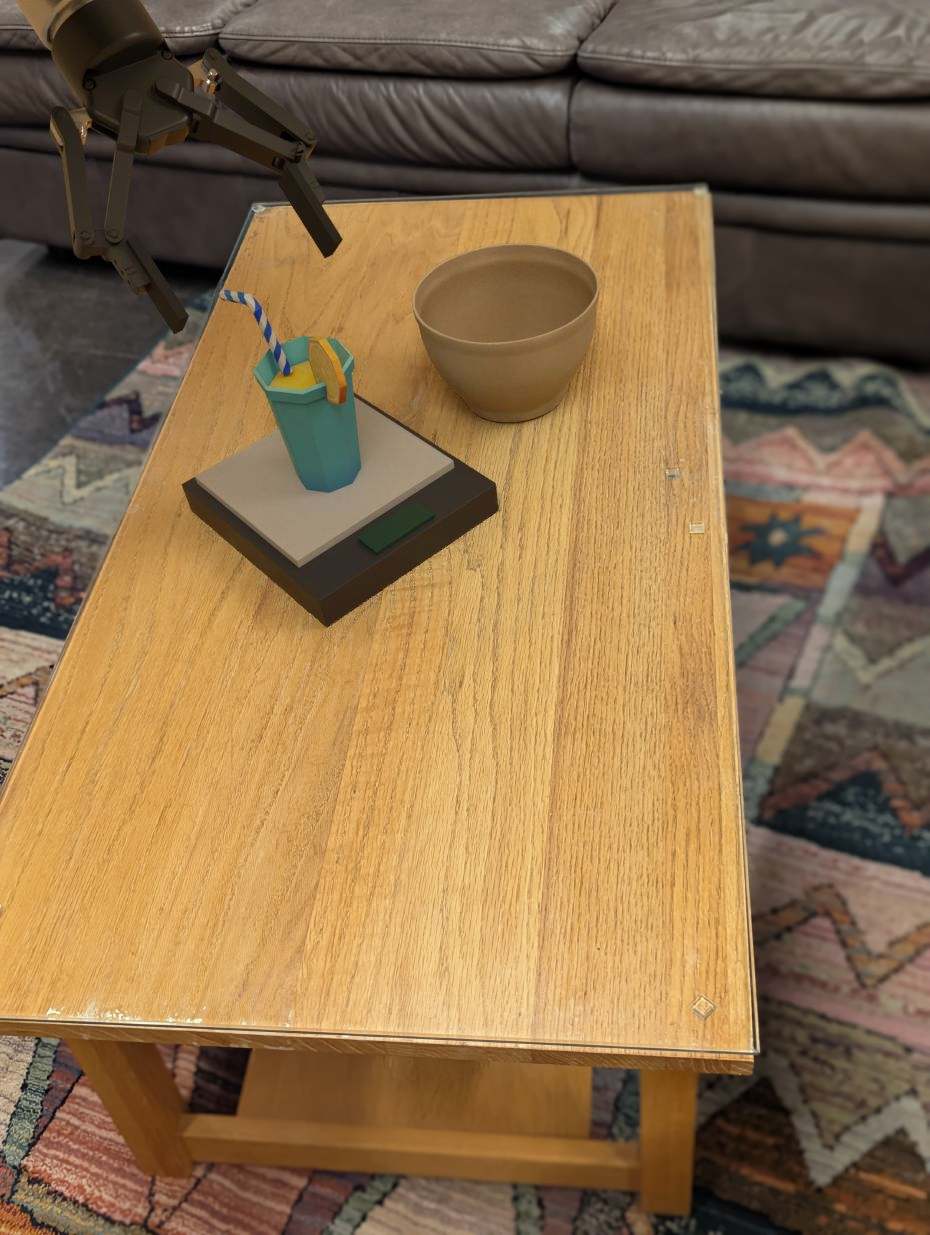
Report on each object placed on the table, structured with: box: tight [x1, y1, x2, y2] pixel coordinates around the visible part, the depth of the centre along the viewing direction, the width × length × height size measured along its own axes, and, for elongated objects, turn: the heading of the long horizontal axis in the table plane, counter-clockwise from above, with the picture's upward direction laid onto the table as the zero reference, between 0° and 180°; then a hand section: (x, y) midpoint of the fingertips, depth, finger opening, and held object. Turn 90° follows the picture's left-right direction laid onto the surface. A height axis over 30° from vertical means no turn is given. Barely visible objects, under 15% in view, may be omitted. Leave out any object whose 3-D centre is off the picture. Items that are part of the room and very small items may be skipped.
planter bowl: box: [411, 242, 600, 423], centre depth 96 cm, size 16×16×11 cm
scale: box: [181, 392, 500, 628], centre depth 90 cm, size 18×20×4 cm
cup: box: [218, 289, 361, 493], centre depth 84 cm, size 14×8×15 cm, turn 50°
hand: (260, 286), depth 79 cm, fingers open, 13 cm apart
